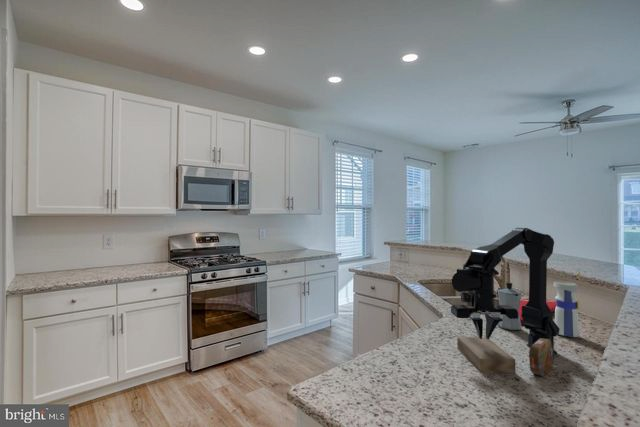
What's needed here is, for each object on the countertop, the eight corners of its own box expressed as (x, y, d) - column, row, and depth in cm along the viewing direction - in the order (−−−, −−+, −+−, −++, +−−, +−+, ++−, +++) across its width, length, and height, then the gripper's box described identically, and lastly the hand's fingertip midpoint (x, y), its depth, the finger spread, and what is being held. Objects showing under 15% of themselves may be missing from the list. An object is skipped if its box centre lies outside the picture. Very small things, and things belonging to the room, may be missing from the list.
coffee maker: (529, 332, 127) (529, 286, 127) (507, 332, 127) (506, 286, 127) (508, 320, 142) (508, 278, 142) (488, 319, 142) (488, 278, 142)
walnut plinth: (487, 349, 111) (487, 337, 111) (515, 373, 94) (515, 359, 94) (457, 348, 111) (457, 337, 111) (480, 372, 94) (480, 358, 94)
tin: (540, 380, 90) (539, 350, 90) (527, 376, 92) (526, 346, 92) (555, 364, 100) (555, 336, 100) (543, 360, 102) (543, 334, 102)
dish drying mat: (487, 316, 148) (487, 308, 148) (527, 302, 172) (527, 295, 172) (525, 326, 136) (525, 317, 136) (563, 310, 159) (563, 302, 159)
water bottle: (577, 331, 128) (576, 267, 128) (583, 338, 120) (582, 271, 121) (551, 328, 132) (551, 266, 132) (555, 334, 124) (555, 269, 124)
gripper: (500, 284, 110) (500, 330, 110) (444, 283, 111) (445, 329, 111) (519, 291, 99) (519, 342, 99) (457, 291, 100) (457, 342, 100)
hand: (483, 338), depth 102 cm, fingers closed
